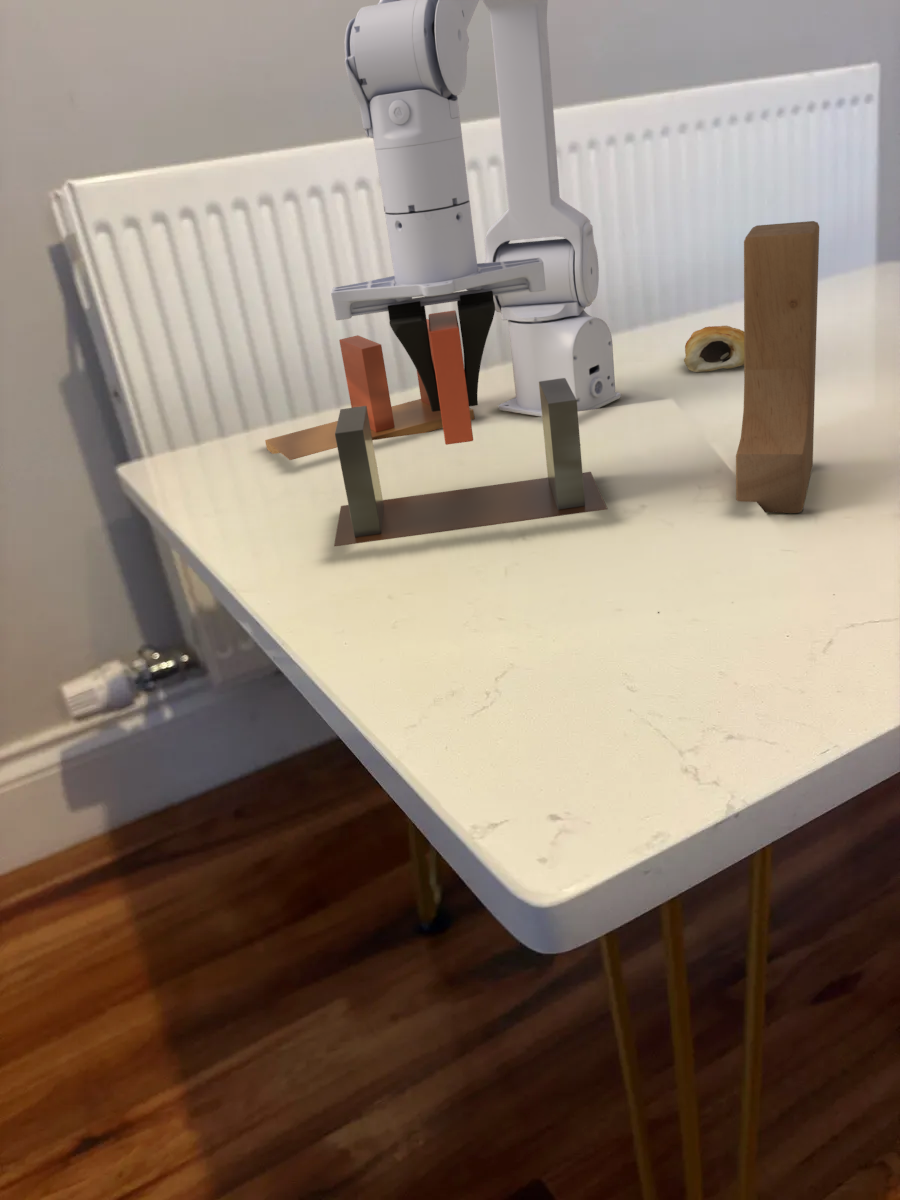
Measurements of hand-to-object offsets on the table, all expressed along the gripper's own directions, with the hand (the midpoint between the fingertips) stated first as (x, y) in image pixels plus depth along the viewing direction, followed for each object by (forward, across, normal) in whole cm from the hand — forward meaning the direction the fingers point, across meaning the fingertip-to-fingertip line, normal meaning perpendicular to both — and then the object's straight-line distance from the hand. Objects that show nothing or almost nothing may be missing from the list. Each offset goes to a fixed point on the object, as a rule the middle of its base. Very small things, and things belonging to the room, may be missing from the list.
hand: (454, 404), depth 74 cm
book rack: (+9, -8, +25) cm, 28 cm away
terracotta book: (+2, 0, 0) cm, 2 cm away
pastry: (+9, +28, +33) cm, 44 cm away
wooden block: (+9, +22, -3) cm, 24 cm away
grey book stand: (+9, 0, 0) cm, 9 cm away
